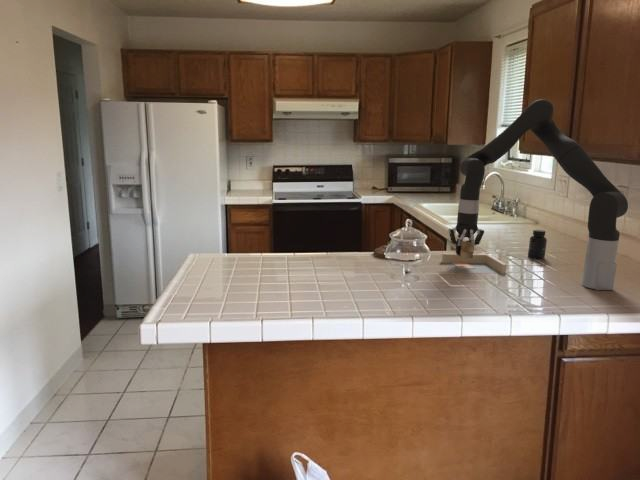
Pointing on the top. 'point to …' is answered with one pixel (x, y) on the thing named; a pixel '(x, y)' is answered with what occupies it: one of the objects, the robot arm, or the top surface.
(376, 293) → the top surface
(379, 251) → the brown rough-edged lump
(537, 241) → the supplement bottle
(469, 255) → the oak block
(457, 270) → the tray
